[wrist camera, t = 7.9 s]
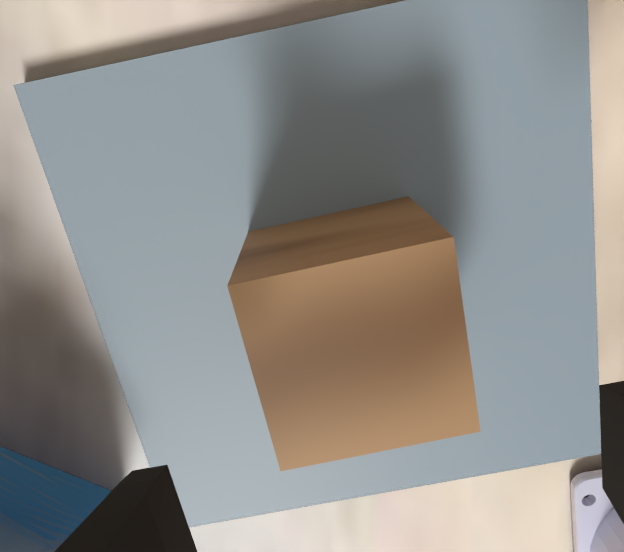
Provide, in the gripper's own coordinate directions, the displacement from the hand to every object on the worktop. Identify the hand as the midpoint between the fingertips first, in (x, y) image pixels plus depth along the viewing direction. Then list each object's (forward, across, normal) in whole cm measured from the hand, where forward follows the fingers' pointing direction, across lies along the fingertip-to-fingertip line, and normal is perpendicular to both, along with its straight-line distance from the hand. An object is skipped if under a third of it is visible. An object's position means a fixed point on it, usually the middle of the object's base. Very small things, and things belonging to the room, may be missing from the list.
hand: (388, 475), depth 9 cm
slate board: (+9, 0, 0) cm, 9 cm away
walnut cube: (+9, 0, 0) cm, 9 cm away
